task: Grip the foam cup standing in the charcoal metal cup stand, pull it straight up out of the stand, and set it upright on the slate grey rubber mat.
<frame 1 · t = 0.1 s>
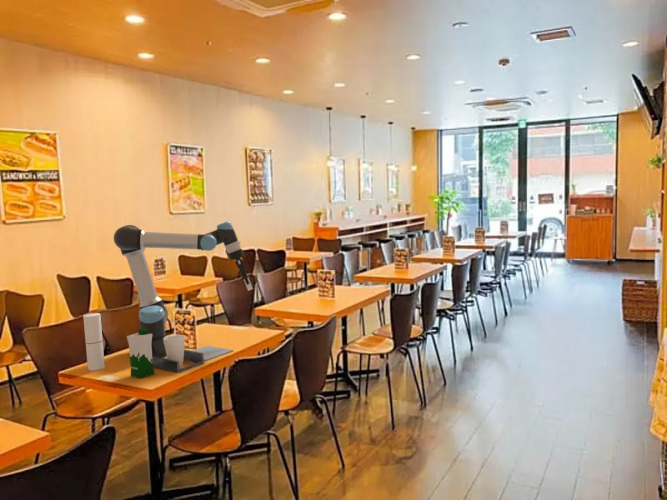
hand: (249, 287, 300), 28 cm above the table, tool tilted 20°, fingers open, 13 cm apart
mat: (206, 353, 280), on the table
cup stand: (176, 364, 263), on the table
milk carton: (142, 375, 250), on the table
foam cup: (176, 365, 263), resting in cup stand
cylindrical container: (96, 368, 263), on the table
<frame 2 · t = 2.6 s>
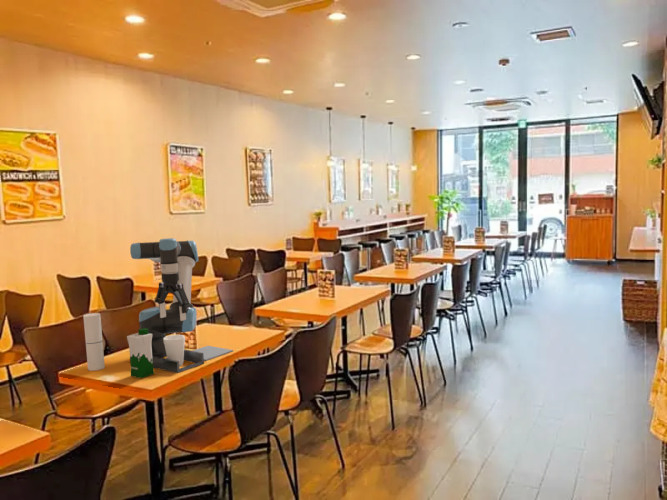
hand: (173, 318, 261), 22 cm above the table, tool pointing down, fingers open, 13 cm apart
nothing on the table moved.
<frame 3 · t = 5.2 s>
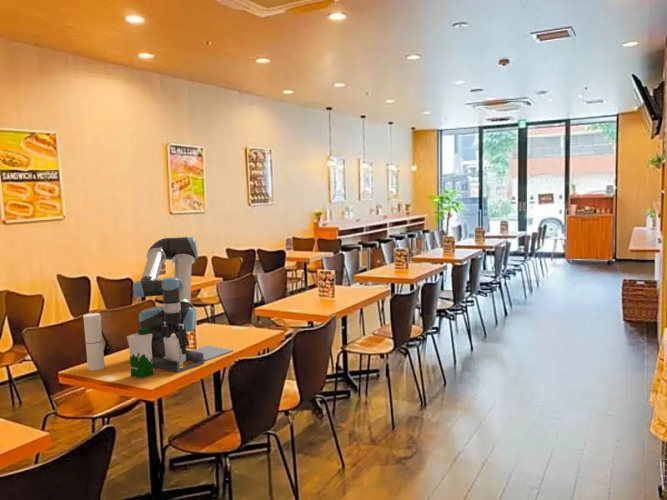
hand: (175, 359, 262), 3 cm above the table, tool pointing down, fingers closed on foam cup, 9 cm apart
foam cup: (176, 365, 263), resting in cup stand, touching gripper
everything else where it was.
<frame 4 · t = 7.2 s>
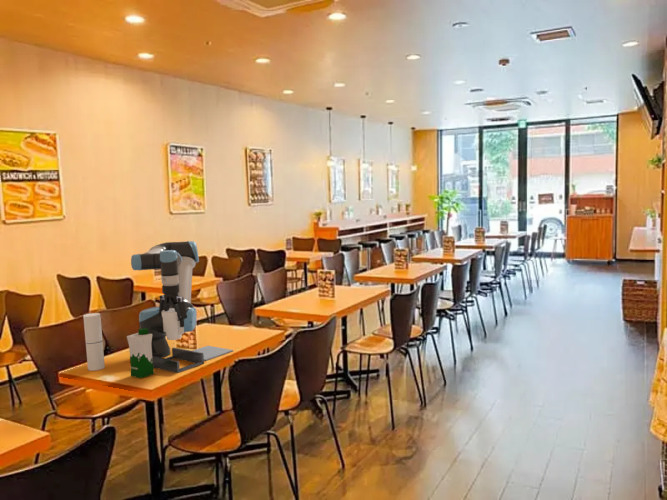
hand: (173, 332, 261), 15 cm above the table, tool pointing down, fingers closed on foam cup, 9 cm apart
foam cup: (174, 338, 262), point 12 cm above the table, touching gripper
everything else where it was.
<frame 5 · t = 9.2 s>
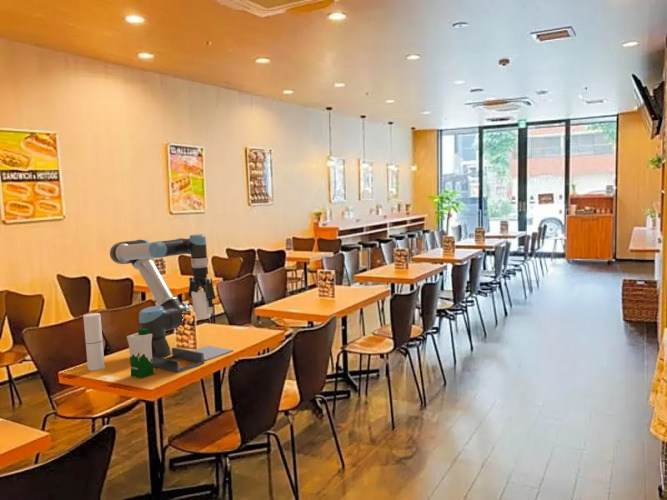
hand: (202, 312, 276), 21 cm above the table, tool pointing down, fingers closed on foam cup, 9 cm apart
foam cup: (203, 318, 276), point 18 cm above the table, touching gripper
everything else where it was.
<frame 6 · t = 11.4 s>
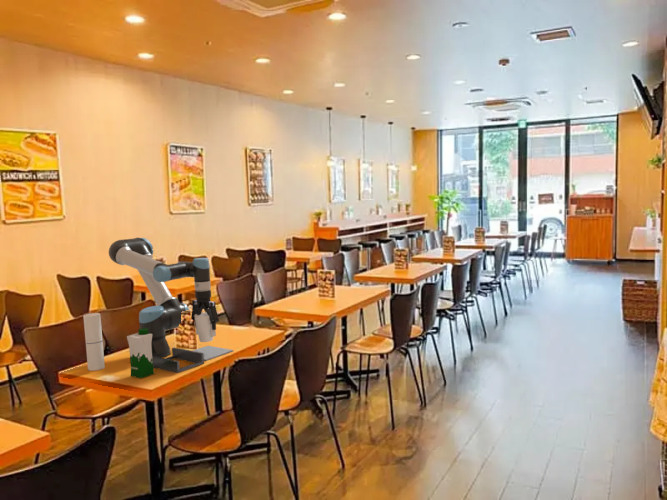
hand: (205, 335, 279), 9 cm above the table, tool pointing down, fingers closed on foam cup, 9 cm apart
foam cup: (206, 340, 279), point 6 cm above the table, touching gripper
everything else where it was.
when the fingers open (5 cm above the table, at t = 13.2 s): foam cup drops 2 cm, resting on mat.
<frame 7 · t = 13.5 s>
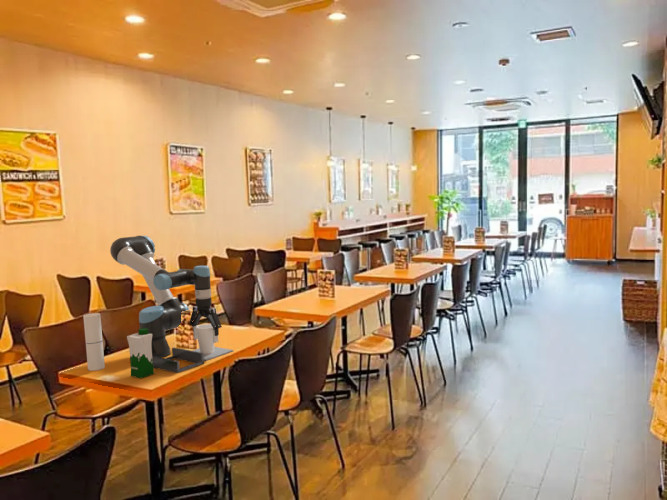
hand: (206, 340, 279), 6 cm above the table, tool pointing down, fingers open, 13 cm apart
foam cup: (207, 352, 279), resting on mat
everything else where it was.
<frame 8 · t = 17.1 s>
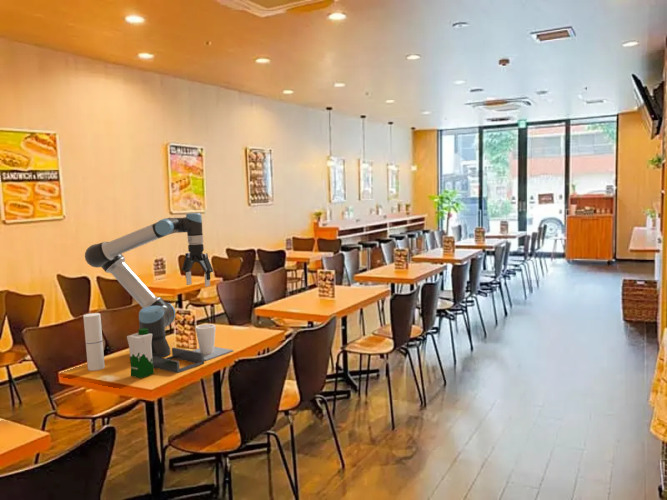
hand: (198, 285, 290), 32 cm above the table, tool pointing down, fingers open, 13 cm apart
nothing on the table moved.
at the end: foam cup inside the target area on the mat (0.2 cm from its centre), point 0.4 cm above the mat's base; foam cup tilted 0°; the gripper is holding nothing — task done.
